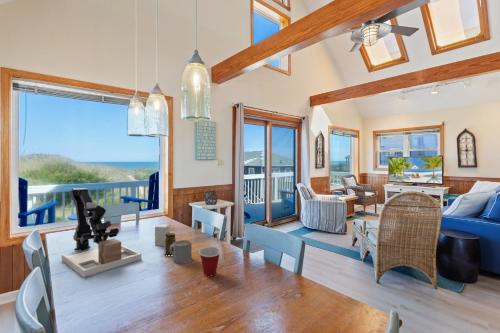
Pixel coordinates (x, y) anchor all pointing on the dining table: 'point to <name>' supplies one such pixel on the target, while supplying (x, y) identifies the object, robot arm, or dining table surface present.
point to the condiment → (169, 243)
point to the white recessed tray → (90, 264)
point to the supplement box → (161, 234)
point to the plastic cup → (209, 260)
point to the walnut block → (109, 251)
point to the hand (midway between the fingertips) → (104, 248)
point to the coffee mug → (181, 251)
